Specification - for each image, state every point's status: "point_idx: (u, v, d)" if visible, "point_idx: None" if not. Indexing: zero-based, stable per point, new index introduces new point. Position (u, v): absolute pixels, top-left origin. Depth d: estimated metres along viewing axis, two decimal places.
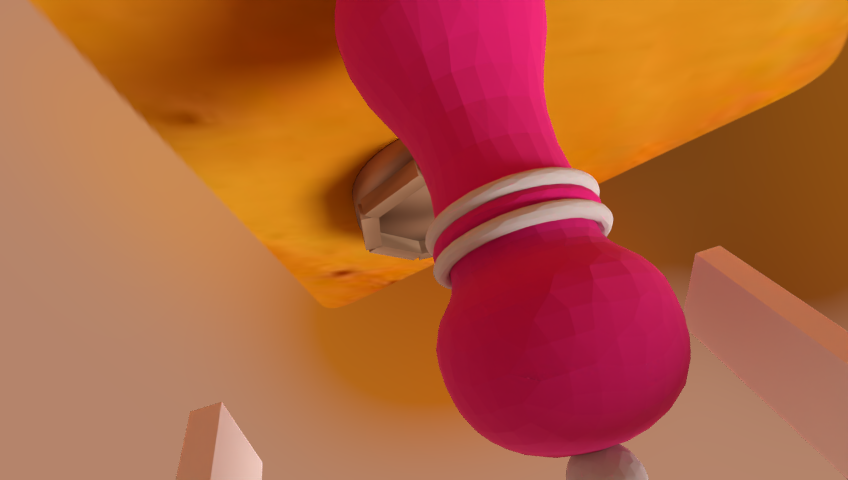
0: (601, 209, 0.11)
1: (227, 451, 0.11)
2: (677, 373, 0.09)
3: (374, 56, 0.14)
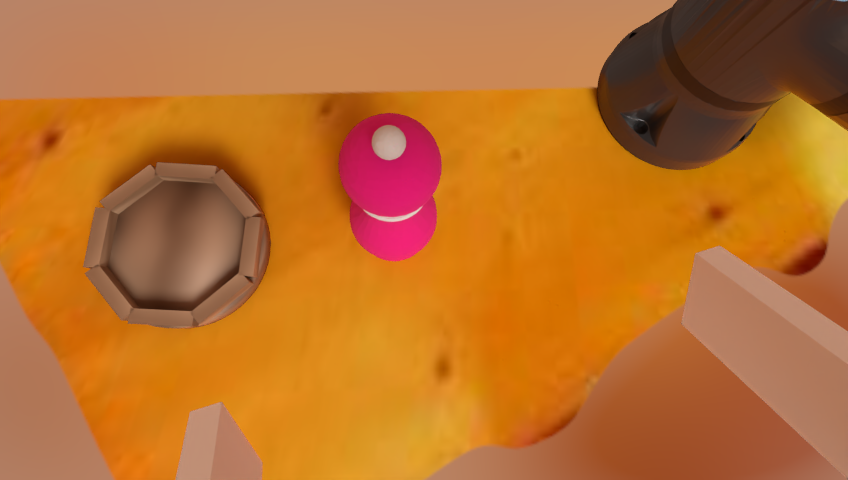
0: None
1: (227, 451, 0.11)
2: (426, 182, 0.25)
3: None
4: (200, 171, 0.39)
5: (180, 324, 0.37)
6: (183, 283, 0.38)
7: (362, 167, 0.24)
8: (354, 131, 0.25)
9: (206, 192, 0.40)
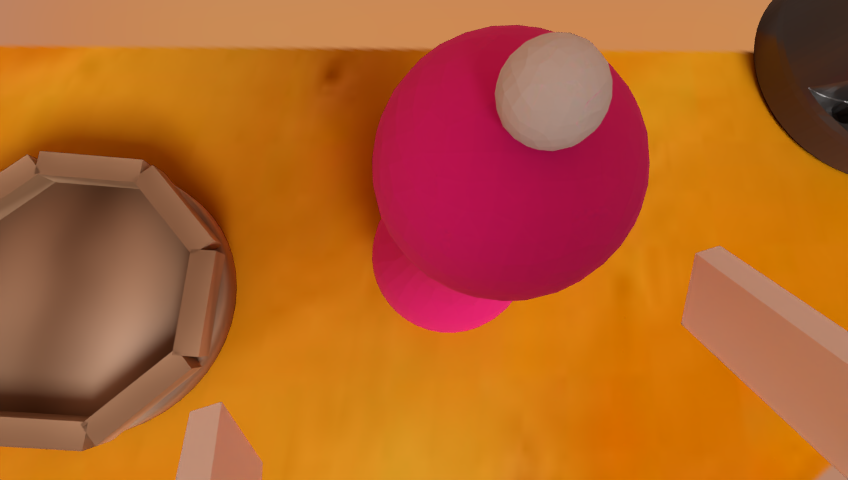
0: None
1: (227, 451, 0.11)
2: (629, 219, 0.09)
3: None
4: (114, 168, 0.23)
5: (61, 446, 0.20)
6: (77, 364, 0.22)
7: (455, 172, 0.08)
8: (423, 68, 0.09)
9: (128, 204, 0.24)
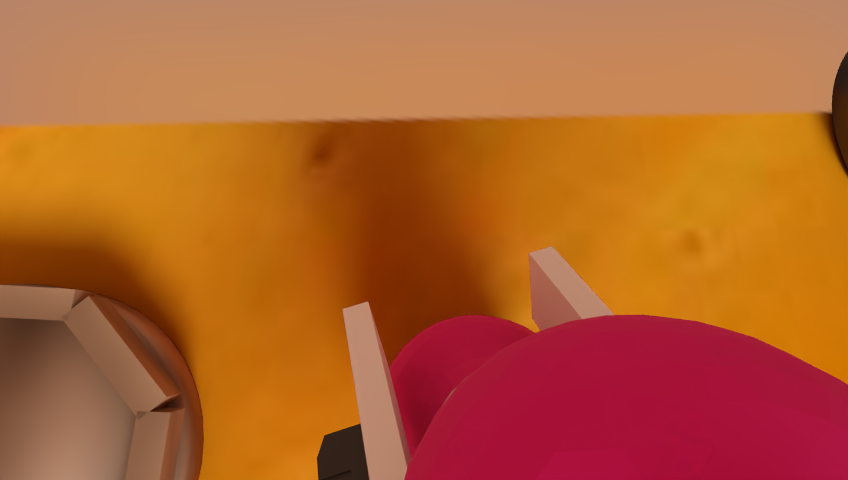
0: None
1: (378, 339, 0.13)
2: None
3: None
4: (38, 302, 0.17)
5: None
6: None
7: None
8: None
9: (59, 342, 0.18)
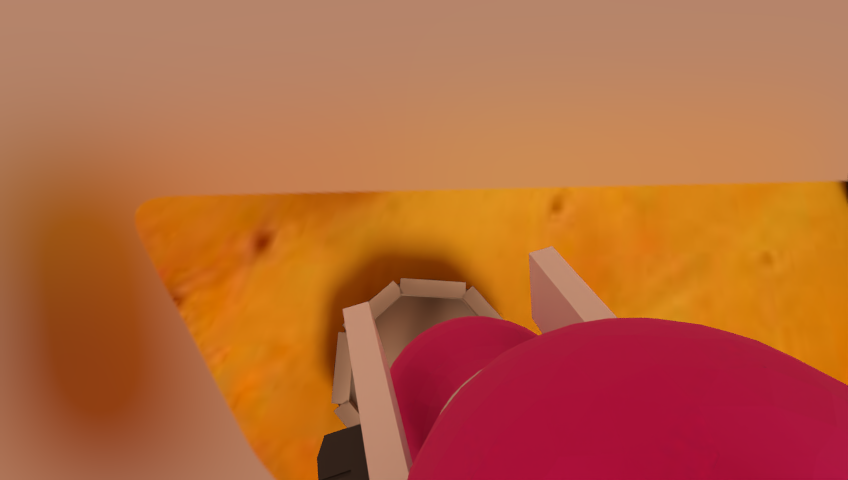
0: None
1: (378, 339, 0.13)
2: None
3: None
4: (449, 289, 0.35)
5: None
6: None
7: None
8: None
9: (450, 309, 0.36)
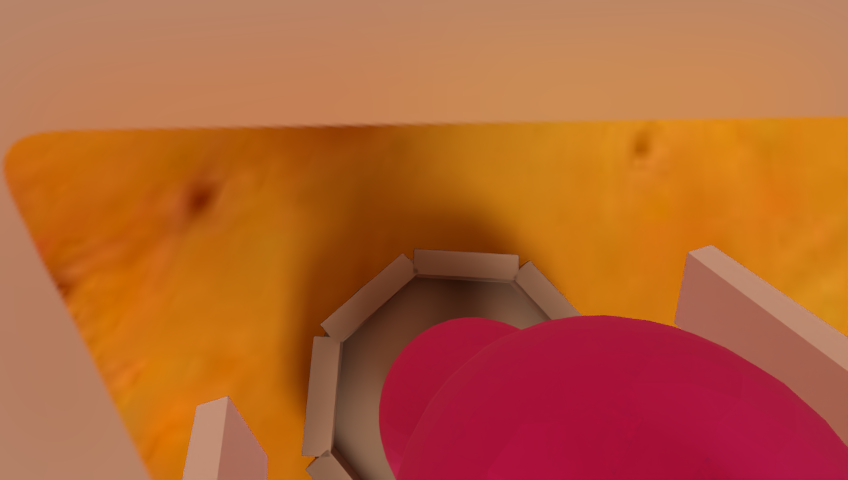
0: None
1: (234, 445, 0.11)
2: None
3: None
4: (492, 265, 0.22)
5: None
6: None
7: None
8: (488, 476, 0.05)
9: (492, 299, 0.23)
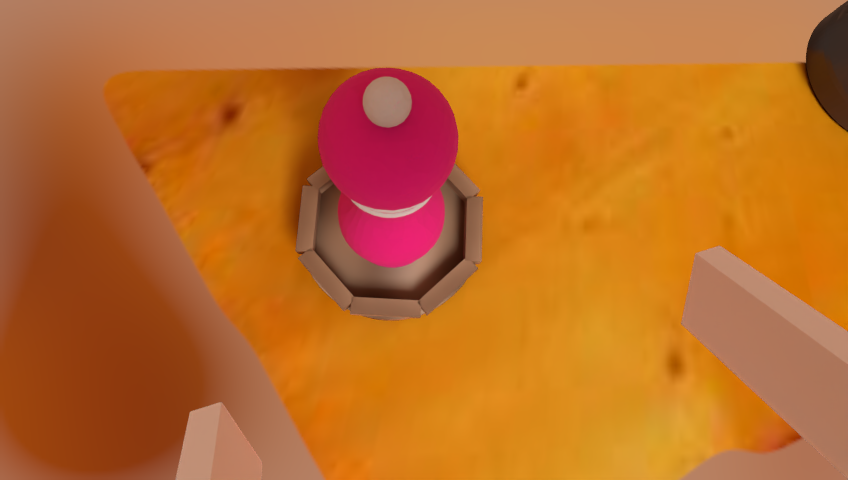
0: None
1: (227, 451, 0.11)
2: (439, 161, 0.18)
3: None
4: None
5: (407, 314, 0.33)
6: (398, 270, 0.35)
7: (350, 139, 0.17)
8: (339, 90, 0.18)
9: None
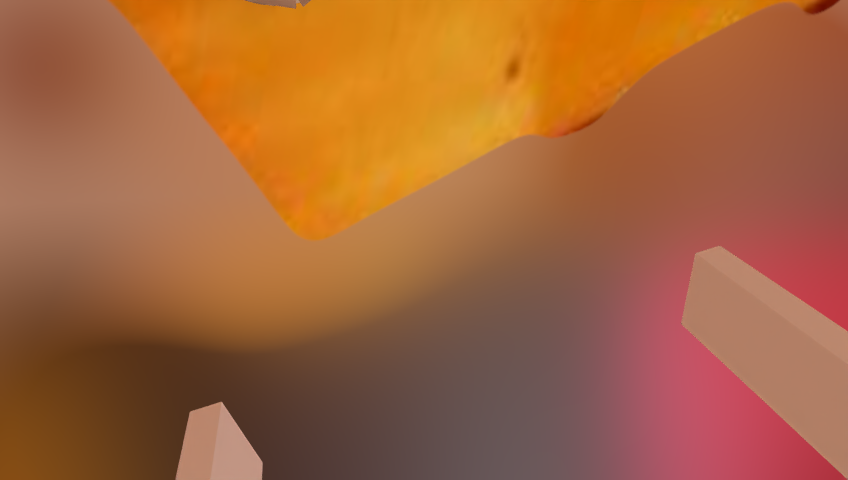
0: None
1: (227, 451, 0.11)
2: None
3: None
4: None
5: (283, 4, 0.34)
6: None
7: None
8: None
9: None
